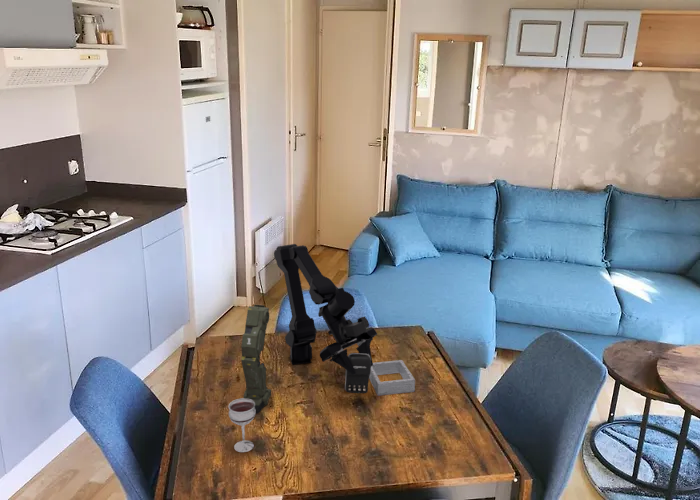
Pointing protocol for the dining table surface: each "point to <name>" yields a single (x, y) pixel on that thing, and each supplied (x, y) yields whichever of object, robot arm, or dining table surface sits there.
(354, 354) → the battery charger
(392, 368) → the hollow square metal frame
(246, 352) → the mechanical leg
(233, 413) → the wineglass
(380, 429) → the dining table surface
